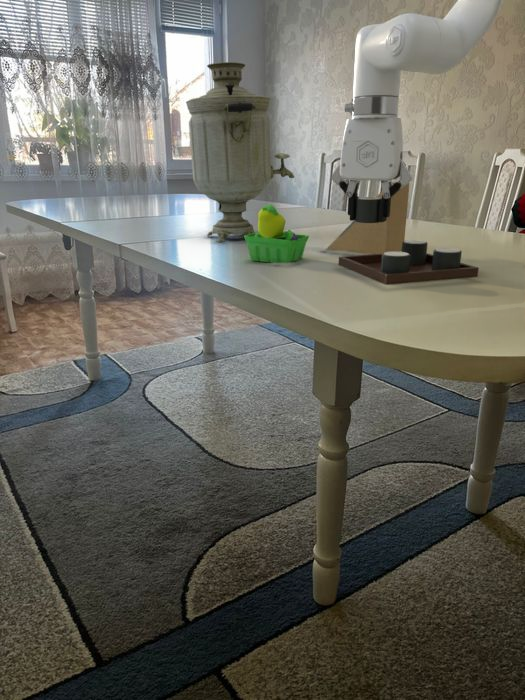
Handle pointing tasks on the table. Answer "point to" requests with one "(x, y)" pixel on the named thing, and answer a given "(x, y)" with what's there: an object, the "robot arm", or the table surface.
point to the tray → (372, 269)
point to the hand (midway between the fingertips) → (368, 219)
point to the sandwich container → (377, 230)
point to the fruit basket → (274, 239)
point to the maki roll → (367, 210)
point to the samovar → (231, 147)
